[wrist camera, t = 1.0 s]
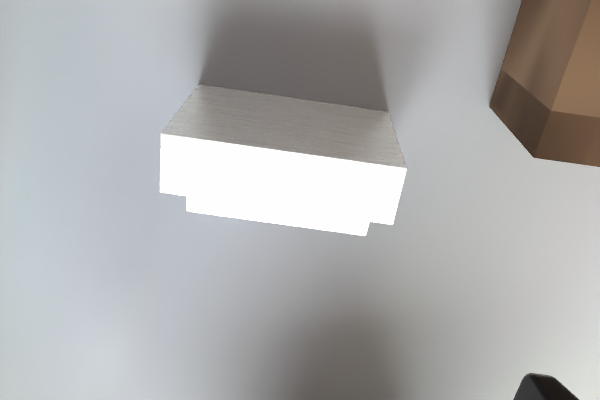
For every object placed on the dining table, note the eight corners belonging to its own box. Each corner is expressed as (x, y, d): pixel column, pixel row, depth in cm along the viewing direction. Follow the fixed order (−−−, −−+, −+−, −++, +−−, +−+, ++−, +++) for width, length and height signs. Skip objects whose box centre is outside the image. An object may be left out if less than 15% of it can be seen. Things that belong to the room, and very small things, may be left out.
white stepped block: (387, 110, 17) (407, 168, 13) (364, 218, 19) (374, 298, 15) (199, 82, 17) (160, 133, 13) (194, 194, 19) (158, 269, 15)
